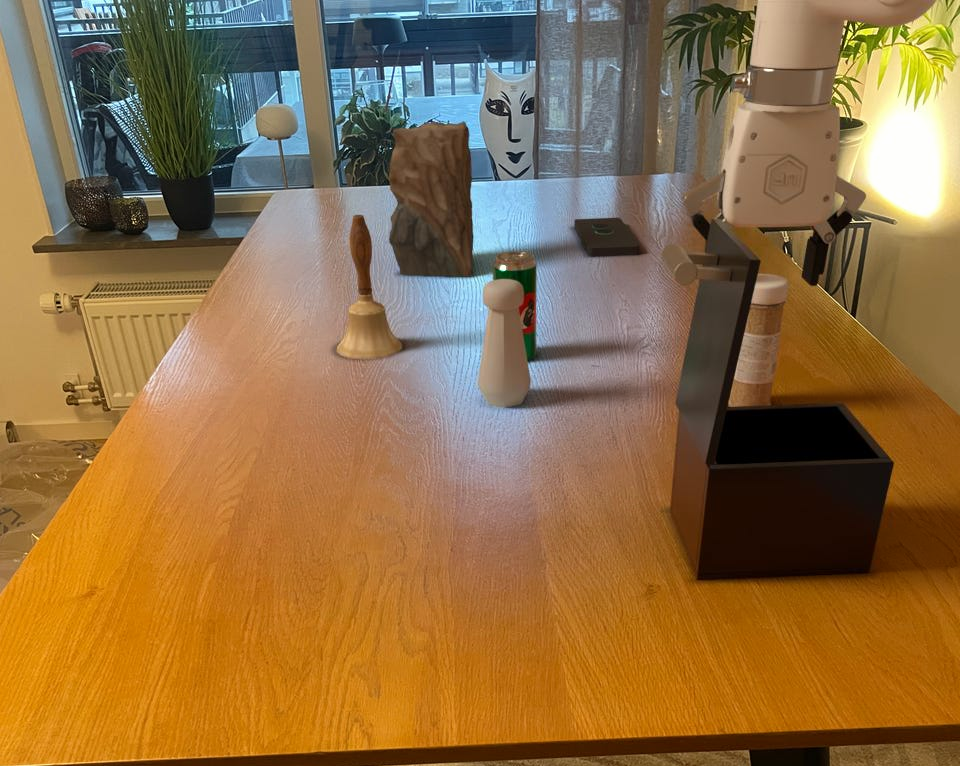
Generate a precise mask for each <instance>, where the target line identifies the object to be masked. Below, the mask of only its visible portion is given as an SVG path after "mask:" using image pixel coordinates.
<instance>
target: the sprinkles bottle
mask: <svg viewBox="0 0 960 766" xmlns="http://www.w3.org/2000/svg"><path fill="white" fill-rule="evenodd" d="M788 292H789V280H788V279H787V278H785V277H784V276H781V275H778V274H772V273H758V275H757V280H756V284H755V289H754V293H753V297H752V302H751V306H750V311H749V315H748V319H747V324H746V328H745V332H744V337H743V341H742V346H741V350H740V354H739V359H738V363H737V368H736V372H735V376H734V381H733V385H732V389H731V394H730V398H729V403H728V407H738V406H764V405H772V402H771V397H772V391H773V383H774V380H775V375H776V368H777V363H778V362H777V361H778V354H779V348H780V340H781V333H782V321H783V313H784V306H785V304H786V300H787V298H788Z"/></svg>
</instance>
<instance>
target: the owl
mask: <svg viewBox="0 0 960 766" xmlns="http://www.w3.org/2000/svg"><path fill="white" fill-rule="evenodd" d="M392 134H393V138H394V141H395V142H394V143H395V144H394V148H393V149H392V153H391V155H390V160H389V164H388V165H389V171H388V183H389V190H390V192H391V193H392V195H393V196H394V198H395V199H396V202H397V203H396V207H395V209H394V211H393V212H392V214H391V216H390V223H391V228H390V231H389V237H388V243H389V245H390V246H391V248H392V251H393V254H394V258H395V260H396V263H397V265H398V269H399V275H402V276H407V277H435V278H437V277H440V278H472V270H473V267H474V261H473V260H474V255H473V251H474V223H473V222H474V221H473V202H472V197H471V190H472V182H473V175H472V172H473V171H472V169H473V168H472V155H471V149H470V144H469V143H470V130H469V127H468V126H467V122H466V121H464V120H463V121H461V122H458V123H451V122H449V123H444V122H439V121H437V122H435V121H431V122H426V123H422V124H421V125H420V126H417V127H415V126H414V127H412V128H407V127H399V128H394V129H393V130H392Z"/></svg>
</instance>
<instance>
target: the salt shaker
mask: <svg viewBox="0 0 960 766" xmlns="http://www.w3.org/2000/svg"><path fill="white" fill-rule="evenodd" d="M523 301H524V291H523V286H522V285H521V283H520V282H518V281H516V280H511V279H498V280H493V279H492V280H490V281H488V282H487V283H485V284H484V286H483V289H482V303H483V305H484V306H485V307H487V308H488V310H487V317H486V324H485V331H484V337H483V344H482V350H481V356H480V363H479V370H478V376H477V386H478V390H479V391H480V393H481V395H482V396H483V398H484V400H485V401H486V403H487V404H488V406H491V407H498V408H503V409H507V408H511V407H516V406H520V405H522V403H523V402H524V400H525V398H526V396H527V394H528V392H529V390H530V389H531V383H532V382H531V374H530V367H529V362H528V361H527V355H526V349H525V343H524V337H523V331H522V326H521V320H520V314H519V308H518V307H519V306H521V305H522V304H523Z"/></svg>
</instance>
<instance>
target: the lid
mask: <svg viewBox="0 0 960 766" xmlns="http://www.w3.org/2000/svg"><path fill="white" fill-rule="evenodd" d="M710 222H711V224H710V229H709V234H708V240H707V245H706V250H705V249H704V252H705V253H704V252H701V251H699V252H698V251H686V250H684V249H683V247H682V246H681V245H680V244H678V243H670V244H667V245H665V247H664V248H663V249H662V252H661V254H660V258H661V261H662V263H663V264H664V267H666V269H667V270H668V272H669V273H670V275H671V277H672V278H673V279H674V281H675V282H676V283H677V285H679V286H689V285H691V284H692V283H694V282H695V280H699V281H698V286H697V291H696V296H695V300H694V301H695V302H694V306H693V312H692V317H691V322H690V325H689V326H690V327H689V331H688V337H687V342H686V347H685V352H684V357H683V363H682V368H681V372H680V377H679V382H678V388H677V393H676V398H675V406H676V408H677V410H678V413H679V412H680V414H681V416H682V418H683V420H684V422H685V424H686V426H687V428H688V430H689V432H690V434H691V436H692V438H693V440H694V442H695V444H696V446H697V448H698V450H699V452H700V454H701V456H702V458H703V460H704V462H705V464H715V460H716V455H717V451H718V446H719V442H720V438H721V433H722V429H723V425H724V420H725V416H726V411H727V407H729V405H728V403H729V398H730V394H731V389H732V385H733V381H734V376H735V372H736V368H737V363H738V359H739V354H740V350H741V346H742V341H743V337H744V332H745V328H746V324H747V319H748V315H749V311H750V306H751V302H752V297H753V293H754V289H755V284H756V280H757V275H758V274H759V271H760V265H761V262H762V261H761V259H760V258H759V257H758V256H757V255H756V254H755V253H754V252H753V250H751V249H750V248H749V246H747V245H746V244H745V243H744V242H743V240H742V239H740V238H739V236H737V234H735V233H734V231H732V230H730V229H729V227H728V226H727V225H726V224H725V223H724V222H723V221H722V220H721V219H713V218H711V219H710ZM698 265H699V266H698ZM700 265H701V266H700Z"/></svg>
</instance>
